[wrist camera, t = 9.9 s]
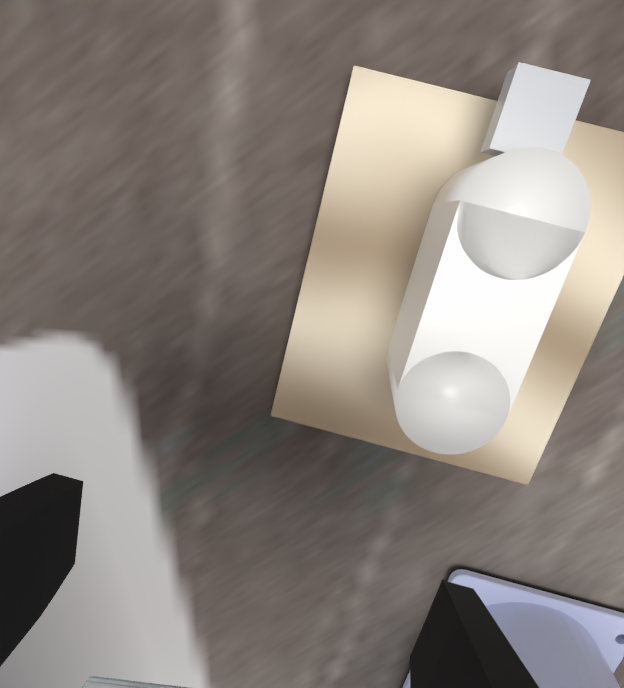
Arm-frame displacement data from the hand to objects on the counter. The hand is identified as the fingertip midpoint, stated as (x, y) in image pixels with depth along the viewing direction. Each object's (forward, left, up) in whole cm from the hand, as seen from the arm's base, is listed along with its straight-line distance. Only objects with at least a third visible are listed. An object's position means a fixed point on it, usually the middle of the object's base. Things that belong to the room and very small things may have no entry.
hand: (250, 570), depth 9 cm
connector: (+5, -4, -8) cm, 11 cm away
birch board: (+5, -4, -9) cm, 11 cm away
